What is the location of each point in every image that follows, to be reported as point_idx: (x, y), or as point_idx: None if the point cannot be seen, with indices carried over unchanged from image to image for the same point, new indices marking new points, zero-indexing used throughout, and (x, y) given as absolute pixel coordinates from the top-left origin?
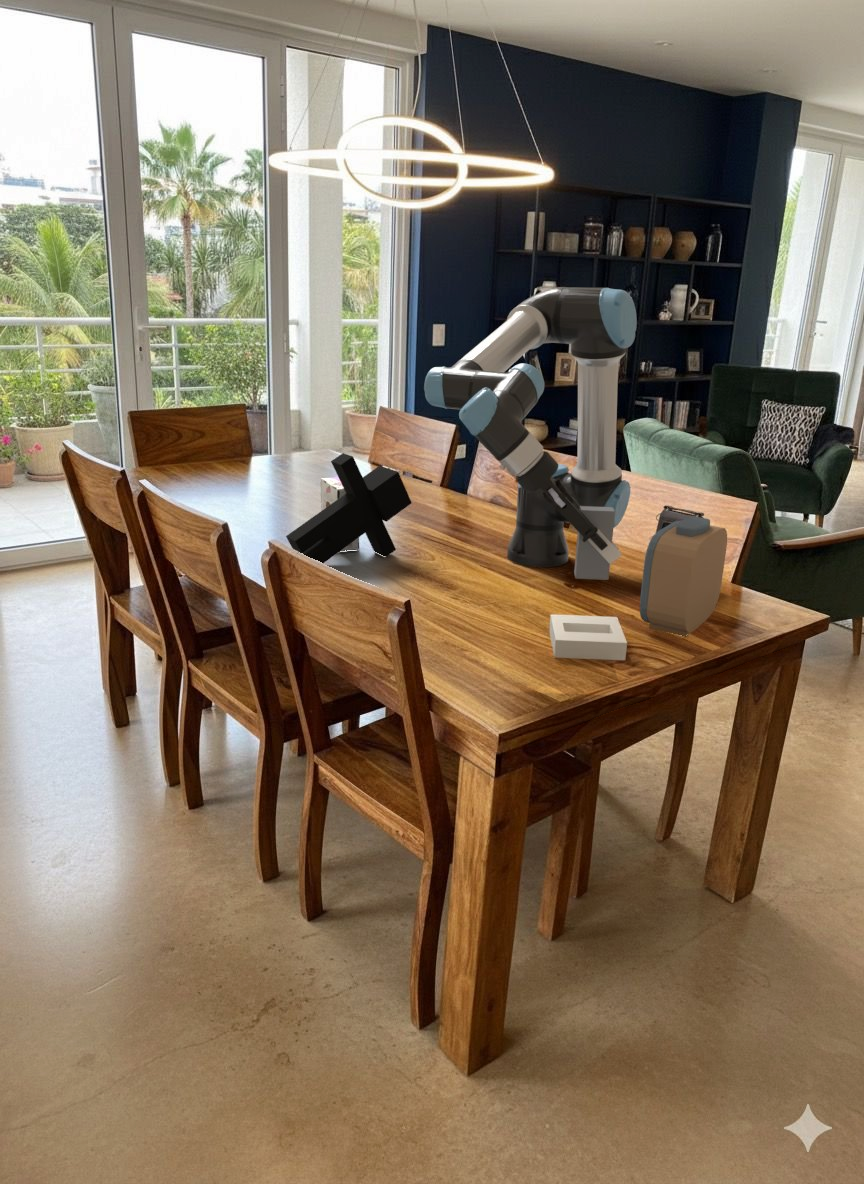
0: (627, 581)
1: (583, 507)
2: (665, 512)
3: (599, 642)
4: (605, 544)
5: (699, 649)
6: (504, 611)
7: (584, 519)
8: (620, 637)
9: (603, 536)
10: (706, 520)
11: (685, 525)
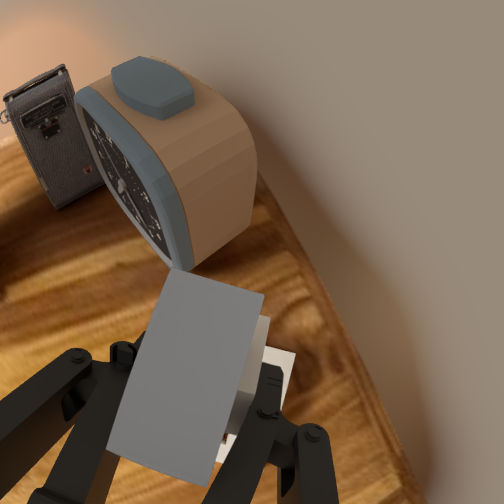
0: (18, 212)
1: (142, 446)
2: (12, 104)
3: (283, 400)
4: (283, 376)
5: (265, 232)
6: (53, 456)
7: (335, 500)
8: (270, 355)
9: (259, 373)
10: (146, 60)
11: (162, 92)
